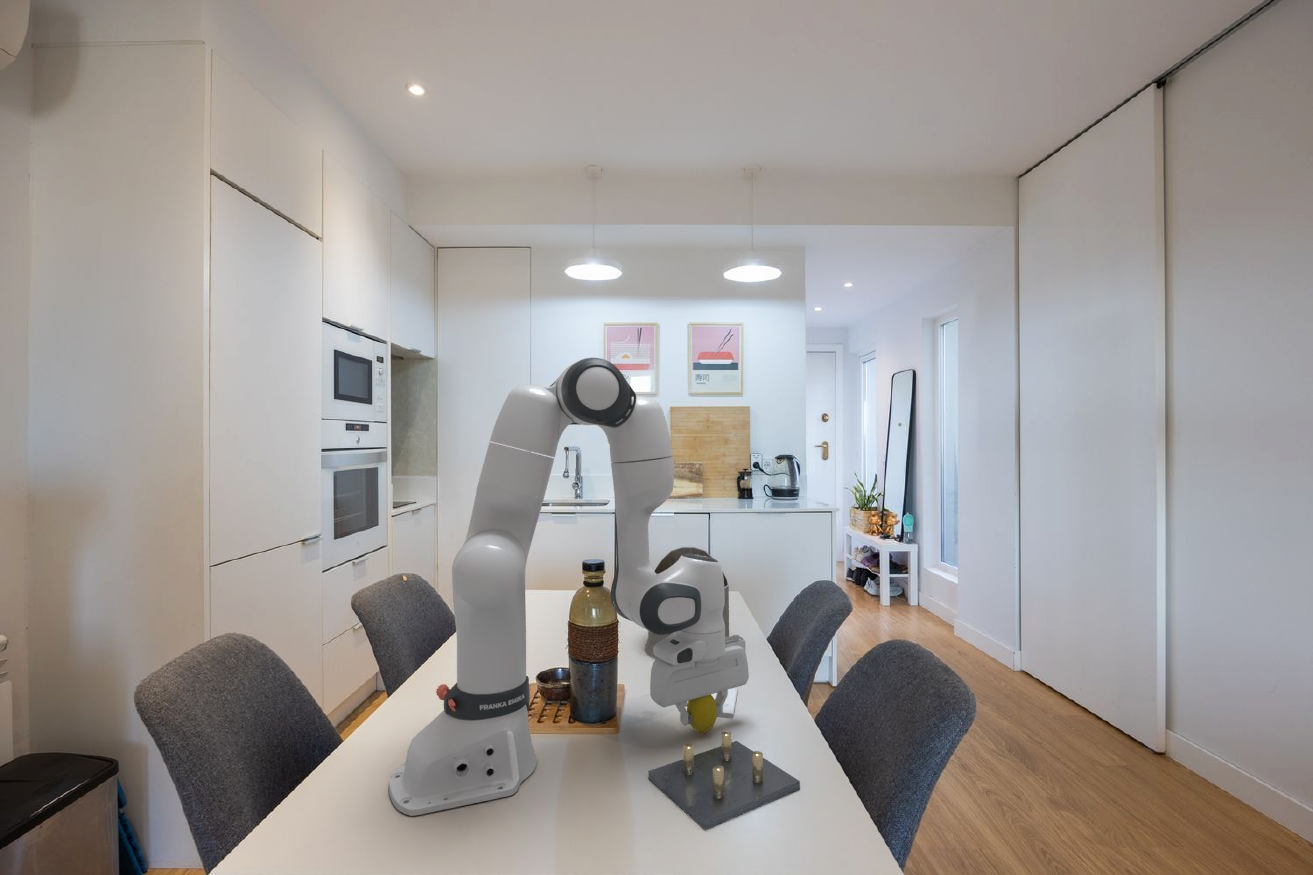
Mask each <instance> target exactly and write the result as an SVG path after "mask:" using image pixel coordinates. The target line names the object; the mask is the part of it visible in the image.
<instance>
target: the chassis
mask: <svg viewBox="0 0 1313 875" xmlns="http://www.w3.org/2000/svg"><path fill="white" fill-rule="evenodd" d="M763 754H764V753H763V752H762V751H759V750H755V751H754V750H752V749H751V748H749V747H748V746H746V745H744V744H742V743H741V742H740V741H738V740H735V741H732V733H731V732H730V731H722V732H721V746H717V747H714V748H711V749H708V750H706V751H702V752H699V753H697V754H695V755H694V745H693V744H691V743H685V744H683V758H682V759H680V760H677V761H673V762H671V763H667V764H665V765H662V766H660V767H659V766H658V767H656V768H653V769H650V770H648V774H647V775H648V780H649V781H650V782H652V784H654V785H655V787H657V788H658V789H659V790H660V791H662V792H663V793H664V794H665V795H666V796H667V797H668V798H669V799H670V800H671V801H673V802H674V803H675V804H676V805H677V806H678V807H679V808H680V809H681V810H682V811H684V812H685V813H686V814H687V815H688V816H689V817H690V818H691V819H692V820H694V822H696V824H698V825H699V826H701V828H702V829H703V830H705V831H706V830H708V829H711V828H713V827H716V826H718V825H721V824H722V823H725V822H727V821H729V820H732V819H734V818H737V817H739V816H741V815H743V814H745V813H747V812H750V811H753V810H754V809H757V808H760V807H762V806H764V805H767V804H769V803H771V802H774V801H775V800H779V799H780V798H783V797H785V796H788V795H790V794H792V793H794V792H796V791H798V790H801V781H800V780H799V779H797V778H795V777H794V776H792V775H791V774H789V773H788V772H787V771H785V770H783V769H781V768H780V767H779V766H777V765H775V764H774V763H773V762H771V761H769V759H766V758H764V755H763Z"/></svg>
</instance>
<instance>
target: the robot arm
mask: <svg viewBox="0 0 1313 875" xmlns="http://www.w3.org/2000/svg"><path fill="white" fill-rule="evenodd" d="M626 379H627V378H626V377H625V376H624V374H623V372H621V370H620V369H619V367H617V366H616V365H615V364H613V363H612V362H611V361H608V360H607V359H604V358H600V357H587V358H586V357H585V358H583V359H580V360H578V361H577V362H575V363H572V364H570V366H568V367H566V369H565V370H564V371H563V372H562V373H560V375H559V376H558V378H556V380H555V381H554V382H553V383H552V384H551V385H550V386H541V385H536V384H523V385H519V386H516V387H515V388H513V389H512V390H511V391H510V392H509V393H508V395H507V397H506V398H505V401H504V402H503V405H502V406H501V409H500V411H499V414H498V415H497V419H496V420H495V424H494V426H493V430H492V433H491V436H490V439H489V443H488V446H487V450H486V454H485V457H484V461H483V464H482V468H481V472H480V475H479V479H478V481H477V482H478V483H477V486H476V490H475V496H474V502H473V507H472V512H471V517H470V519H469V526H468V529H467V533H466V537H465V541H464V543H463V545H462V546H461V548H460V549H459V550H458V551H457V553H456V555H455V557H454V559H453V562H452V564H451V565H452V567H451V578H452V579H451V584H452V585H451V586H452V588H451V589H452V600H453V601H452V602H453V611H454V612H453V614H454V621H455V631H456V683H455V684H454V685H453V686H452V687H451V688H450V687H449V686H448V685H447V684H445V683H443V684H442V683H441V684H439V686H438V687H437V688H435V689H436V691H435V693H436V696H437V698H438V699H439V700H441V701H443V711H442V712H440V713H439V714H438V715H437V716H436V717H435V718H434V719H432V720H431V721H430V723H428V724H427V725H425V726H424V727H423V728H422V729H421V730H420V731H419V732H418V733H417V734H416V735H415V736H413V738H412V739H411V741H410V743H409V745H408V748H407V752H406V756H405V757H406V758H405V763H404V764H403V765H401V766H398V767H396V769H395V770H394V771H393V772H392V774H391V775H390V778H389V779H390V780H389V785H388V786H389V787H388V792H389V797H390V799H391V803H392V804H393V806H394V807H395V808H396V809H397V811H399V812H401V813H402V814H405V815H406V816H410V817H414V816H421V815H425V814H429V813H433V812H435V813H436V812H440V811H443V810H444V811H445V810H449V809H453V808H454V809H455V808H459V807H463V806H467V805H472V804H477V803H481V802H486V801H492V800H497V799H500V798H506V797H511V796H513V795H514V794H516V792H517V791H518V789H520V786H521V783H523V781H524V780H526V779H527V778H528V777H529V776H531V774H532V773H533V772H534V770H535V769H536V767H537V762H538V761H537V756H536V753H535V750H534V747H533V742H532V737H531V731H530V723H529V714H528V711H530V700H531V699H530V698H531V689H530V680H529V676H528V675H527V619H526V618H527V617H526V616H527V614H526V613H527V612H526V610H527V609H526V606H527V605H526V566H527V561H528V557H529V553H530V549H531V545H532V542H533V539H534V535H535V531H536V527H537V525H538V524H537V523H538V520H539V517H540V513H541V510H542V507H543V504H544V499H545V496H546V493H547V492H546V491H547V489H548V483H549V481H550V477H551V473H552V469H553V466H554V462H555V457H556V454H557V450H558V445H559V442H560V440H561V436H562V435H563V432H564V431H565V430H566V429H567V427H568V426H570V425H571V426H573V425H580V426H581V425H582V426H597V427H599V428H600V429H602V431H603V432H604V433H605V435H606V438H607V441H608V442H607V443H608V444H609V455H610V467H611V477H612V483H613V484H612V485H613V493H614V494H613V495H614V496H613V497H614V532H615V534H614V536H615V554H616V557H615V558H616V560H615V561H616V562H615V563H616V565H615V566H616V567H615V571H614V575H613V579H612V582H611V588H610V601H611V605H612V606H613V607H612V608H614V604H615V609H614V610H615V612H616V613H617V614H618V615H619V616H620V617H621V618H624V619H625V620H627V621H631V622H633V623H634V624H636V625H637V626H639V627H641V628H643V629H644V630H646V631H647V632H648V631H649V632H651V633H654V634H658V635H666V634H670V633H672V634H671V635H670V636H668V637H666V638H665V639H663V640H662V641H660V642H658V643H657V644H655V645H654V647H653V653H654V655H655V656H656V657H658V658H657V659H656V660H654V661H653V663H652V666H651V670H650V680H649V681H650V683H649V684H650V686H649V689H650V690H649V691H650V693H649V695H650V697H651V700H652V701H653V702H654V703H655V704H657V705H658V706H660V707H661V708H668V707H671V706H674V705H675V708H677V711H678V712H679V717H680V718H679V720H680V723H681V724H682V725H684V726H687V725H690V724H691V723H692V714H691V713H689V712H688V711H687V704H688V701H689V700H692V699H696V698H700V697H703V696H707V695H710V694H714V693H717V695H716V698H715V703H716V707H717V715H720V714H722V713H723V704H724V702H725V700H726V698H727V695H728V689H732V688H738V687H742V686H745V685H747V683H748V680H749V678H750V676H749V673H750V672H749V664H748V657H747V652H746V641H745V639H744V638H743V637H742V636H740V634H733V635H731V636H730V635H729V637H725V623H724V620H723V608H724V604H725V592H724V578H723V572H724V571H723V572H722V570H723V569H722V565H721V563H720V561H718V560H717V559H715V558H714V557H713V558H711V557H708V556H703V555H699V554H684V555H681V557H680V558H679V560H678V561H677V562H676V563H675V564H673V565H672V566H671V567H669V568H668V569H666V570H665V571H663V572H661V573H659V574H656V573H655V572H654V570H655V569H653V567H652V565H651V562H650V548H649V546H650V544H649V524H650V518H651V516H652V514H653V513H654V512H655V510H656V509H658V508H659V507H661V506H662V505H663V504H664V503H665V502H666V501H667V500H668V499H669V497H670V496H671V494H672V493H673V490H674V483H675V463H674V457H673V449H672V448H673V447H672V442H671V441H672V440H671V435H670V432H669V427H668V423H667V420H666V416H665V413H664V410H663V407H662V406H661V405H660V403H659V402H657V400H655V399H653V398H651V397H648V396H643V395H642V396H641V395H637V394H636V392H635V391H634V389H633V388H632V387H631V385H630V384H629V382H628V381H627V380H626ZM613 601H614V604H613ZM673 632H674V633H673Z"/></svg>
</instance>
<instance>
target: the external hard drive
mask: <svg viewBox="0 0 1313 875" xmlns="http://www.w3.org/2000/svg"><path fill="white" fill-rule="evenodd" d="M738 692H739V691H738V687H735V688H732V689H728V695H727V698H726V700H725V702H724V704H723V713H722V714H720V715H717V718H724V717H725V718H727V719H734V716H735V710H736V706H737V705H736V704H737V700H738V699H737V698H738V695H739V693H738ZM711 695H712V696H713V698H714V700H715V698H716V695H717V693H714V694H711Z"/></svg>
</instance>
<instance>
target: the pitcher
mask: <svg viewBox="0 0 1313 875" xmlns="http://www.w3.org/2000/svg"><path fill="white" fill-rule="evenodd" d="M684 554H699V555H703V556H708V557H711V558H714V557H713V556H712V555H710V554H709V553H708V551H706V550H704V549H702V548H697V547H696V546H695V547H694V546H682V547H681V546H680V547H678V548H675V549H672V550H670V551H669V552H668V553H667V554H666V555H665V556H664V557H663V558H661V559H660V560H659V563H657V565H656V567H655V568H654V569H653V570H654V572H655V573H656V574H659V573H661V572H663V571H665V570H666V569H668V568H669V567H671V566H672V565H673V564H675V563H676V562H677V561H678V560H679V558H680V557H681V555H684ZM722 572H723V578H724V592H725V604H724V608H723V620H724V623H725V637H730V600H729V599H730V597H729V596H730V590H729V589H730V586H729V580H728V578H727V576H726V573H725V571H723V569H722ZM647 633H648V634H647V635H648V636H647V637H648V638H647V640H646V644H645V646H644V649H643V652H644V653H645V654H646V656H647V657H649V658H651V659H653V660H654V661H655V660H656V659H657V658H658V657H656V656H655V655H654V653H653V647H654V645H655V644H657V643H658V642H660V641H662V640H663V639H665V638H666V637H668V636H670V635H671V634H672V633H670V634H666V635H658V634H654V633H651V632H649V631H648V630H647ZM673 633H674V632H673Z"/></svg>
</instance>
